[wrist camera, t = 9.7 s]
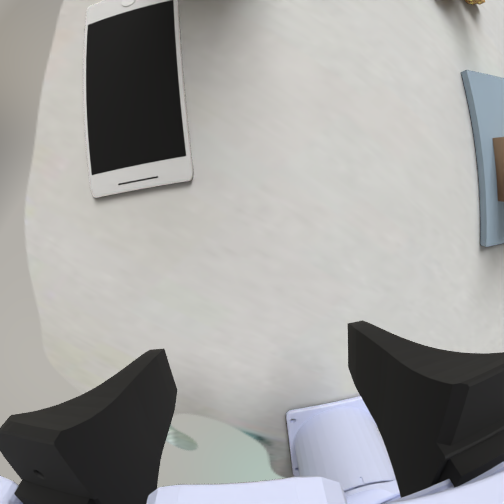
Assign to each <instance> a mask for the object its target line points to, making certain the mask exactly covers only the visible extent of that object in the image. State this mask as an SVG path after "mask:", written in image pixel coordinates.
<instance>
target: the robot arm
mask: <svg viewBox="0 0 504 504" xmlns="http://www.w3.org/2000/svg"><path fill="white" fill-rule="evenodd" d="M348 367H349V370H350V373H351V376H352V379H353V381H354V384H355V386H356V388H357V390H358V392H359V394H360V396H358V397H354V398H350V399H345V400H341V401H336V402H332V403H327V404H322V405H316V406H311V407H305V408H300V409H293V410H289V411H288V412H287V413H286V420H287V428H288V436H289V444H290V453H291V461H292V469H293V475H294V476H295V477H289V478H282V479H274V480H266V481H255V482H243V483H227V484H180V485H171V486H163V487H159V488H157V481H158V473H159V466H160V459H161V455H162V451H163V447H164V444H165V441H166V437H167V434H168V431H169V427H170V424H171V420H172V417H173V413H174V410H175V403H176V395H177V388H176V385H175V382H174V379H173V376H172V372H171V369H170V366H169V363H168V360H167V356H166V353H165V350H164V349H156V350H149V351H147V352H146V353H144V354H143V355H141V356H140V357H139V358H137V359H136V360H135V361H133V362H132V363H131V364H129V365H128V366H127V367H125V368H124V369H123V370H121V371H120V372H118V373H117V374H116V375H114V376H113V377H111V378H110V379H108V380H107V381H105V382H104V383H102V384H101V385H99V386H97V387H96V388H94V389H92V390H90V391H88V392H86V393H85V394H83V395H81V396H78V397H76V398H74V399H71V400H69V401H66V402H64V403H61V404H59V405H56V406H52V407H50V408H46V409H42V410H38V411H34V412H28V413H22V414H16V415H11V416H10V417H9V418H8V419H7V420H6V422H5V423H4V424H3V425H2V426H1V428H0V451H1V452H2V454H3V456H4V457H5V458H6V460H7V461H8V462H9V464H10V465H11V466H12V468H13V469H14V470H15V471H16V473H17V474H18V475H19V476H20V478H21V479H23V480H22V481H21V483H20V484H19V485H18V484H16V483H15V482H14V481H12V480H10V479H7V478H5V477H2V476H0V504H504V352H503V353H490V354H476V353H460V352H453V351H446V350H441V349H436V348H432V347H428V346H424V345H421V344H418V343H415V342H412V341H409V340H407V339H404V338H401V337H399V336H397V335H394V334H392V333H390V332H387V331H385V330H383V329H381V328H379V327H377V326H374V325H372V324H370V323H368V322H365V321H359V322H354V323H349V324H348ZM291 419H294V420H291ZM377 427H378V429H379V431H380V433H379V431H378V429H377ZM380 434H381V435H380ZM381 436H382V437H381Z"/></svg>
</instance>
